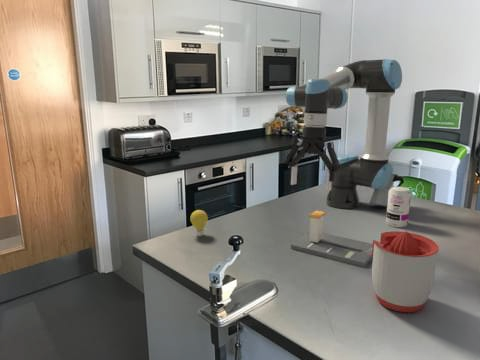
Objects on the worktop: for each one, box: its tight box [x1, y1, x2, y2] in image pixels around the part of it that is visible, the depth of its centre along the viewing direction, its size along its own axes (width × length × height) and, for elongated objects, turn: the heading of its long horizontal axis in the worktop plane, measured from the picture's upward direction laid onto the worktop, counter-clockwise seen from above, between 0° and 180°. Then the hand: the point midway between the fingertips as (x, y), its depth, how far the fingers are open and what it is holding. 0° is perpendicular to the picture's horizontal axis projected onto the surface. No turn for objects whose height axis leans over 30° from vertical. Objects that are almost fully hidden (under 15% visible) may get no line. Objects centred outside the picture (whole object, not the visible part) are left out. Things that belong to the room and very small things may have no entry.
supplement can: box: [385, 185, 412, 229], centre depth 158 cm, size 8×8×15 cm
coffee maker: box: [369, 173, 405, 208], centre depth 180 cm, size 15×9×18 cm, turn 72°
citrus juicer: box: [366, 230, 440, 314], centre depth 104 cm, size 16×17×20 cm
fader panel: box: [290, 230, 373, 268], centre depth 138 cm, size 16×26×2 cm, turn 55°
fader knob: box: [309, 210, 326, 243], centre depth 141 cm, size 5×3×10 cm, turn 145°
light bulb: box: [189, 209, 209, 237], centre depth 151 cm, size 7×7×10 cm
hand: (310, 187), depth 138 cm, fingers open, 13 cm apart
